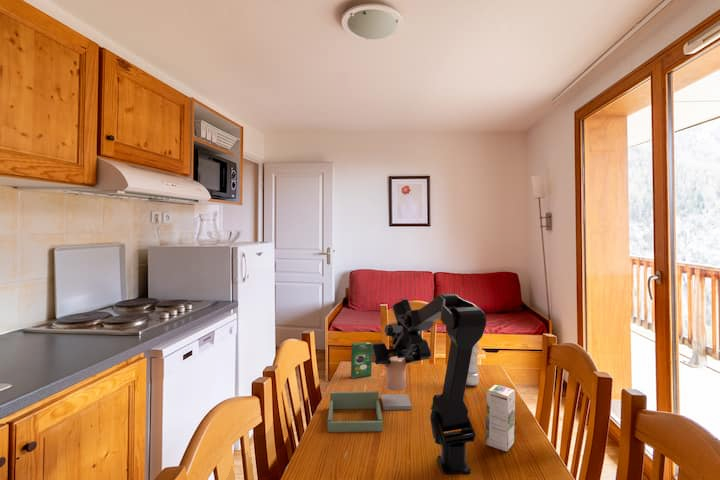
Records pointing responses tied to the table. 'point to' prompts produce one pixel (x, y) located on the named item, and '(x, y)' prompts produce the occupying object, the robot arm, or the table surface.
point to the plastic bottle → (473, 368)
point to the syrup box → (500, 417)
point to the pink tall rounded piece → (396, 374)
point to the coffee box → (361, 359)
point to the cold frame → (354, 402)
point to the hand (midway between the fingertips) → (394, 364)
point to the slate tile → (396, 402)
